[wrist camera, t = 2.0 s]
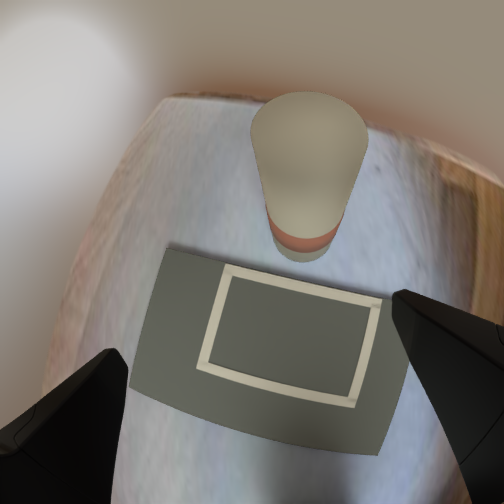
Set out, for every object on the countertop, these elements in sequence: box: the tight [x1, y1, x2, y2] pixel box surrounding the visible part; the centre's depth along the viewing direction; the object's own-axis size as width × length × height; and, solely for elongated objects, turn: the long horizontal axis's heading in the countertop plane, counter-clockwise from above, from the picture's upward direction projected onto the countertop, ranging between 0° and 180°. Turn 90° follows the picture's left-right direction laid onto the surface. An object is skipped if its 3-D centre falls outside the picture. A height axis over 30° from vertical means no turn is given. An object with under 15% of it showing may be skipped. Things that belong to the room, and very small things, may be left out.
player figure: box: [251, 91, 368, 262], centre depth 17 cm, size 5×5×13 cm
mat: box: [129, 248, 409, 456], centre depth 20 cm, size 22×13×1 cm, turn 75°
